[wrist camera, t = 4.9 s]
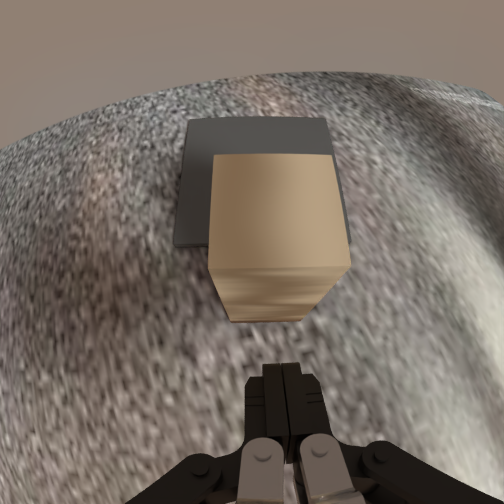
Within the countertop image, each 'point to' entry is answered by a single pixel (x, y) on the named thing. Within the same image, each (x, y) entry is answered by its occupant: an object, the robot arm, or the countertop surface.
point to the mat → (238, 142)
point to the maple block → (275, 234)
